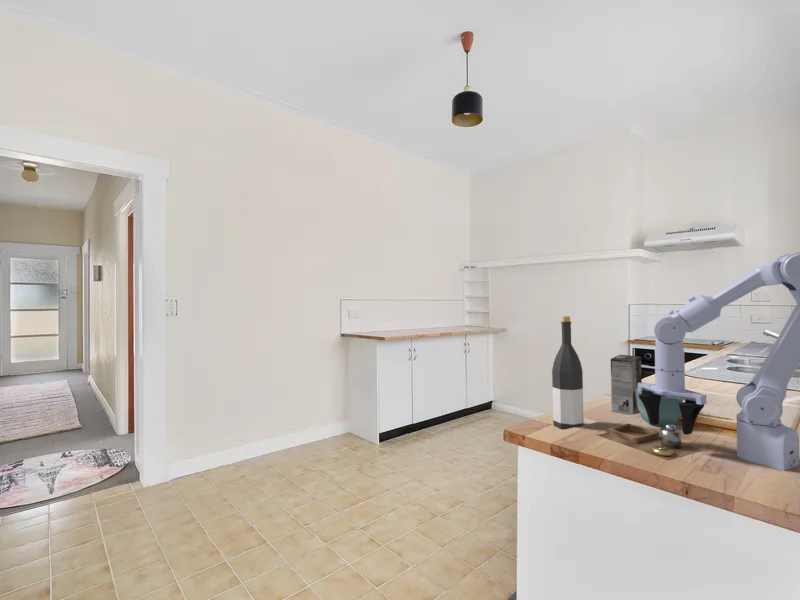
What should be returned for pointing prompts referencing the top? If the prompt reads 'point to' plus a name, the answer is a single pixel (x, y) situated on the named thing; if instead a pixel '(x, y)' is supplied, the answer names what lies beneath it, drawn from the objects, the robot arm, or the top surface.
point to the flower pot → (662, 410)
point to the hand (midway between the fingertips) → (670, 428)
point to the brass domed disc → (662, 451)
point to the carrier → (644, 440)
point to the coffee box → (625, 383)
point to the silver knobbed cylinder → (671, 437)
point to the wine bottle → (567, 383)
